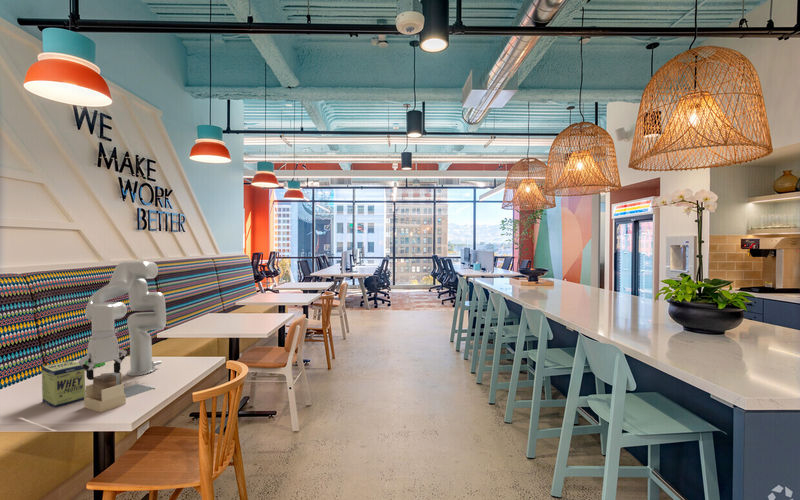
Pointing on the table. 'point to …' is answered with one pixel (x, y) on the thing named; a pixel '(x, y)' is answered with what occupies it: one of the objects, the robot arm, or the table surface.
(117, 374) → the ceramic mug
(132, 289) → the robot arm
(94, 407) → the beige open box
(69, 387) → the protein box
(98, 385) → the walnut block
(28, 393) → the table surface
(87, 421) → the table surface
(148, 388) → the rubber mat
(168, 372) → the table surface
